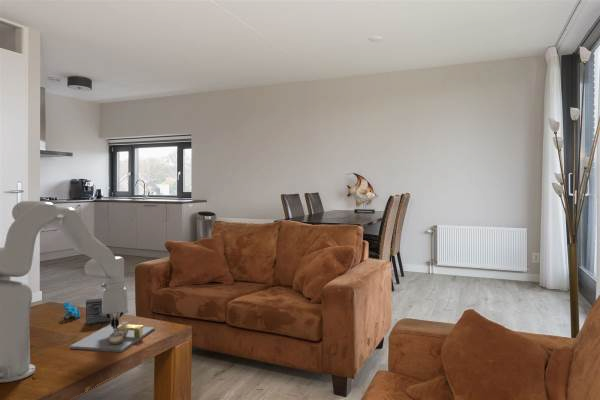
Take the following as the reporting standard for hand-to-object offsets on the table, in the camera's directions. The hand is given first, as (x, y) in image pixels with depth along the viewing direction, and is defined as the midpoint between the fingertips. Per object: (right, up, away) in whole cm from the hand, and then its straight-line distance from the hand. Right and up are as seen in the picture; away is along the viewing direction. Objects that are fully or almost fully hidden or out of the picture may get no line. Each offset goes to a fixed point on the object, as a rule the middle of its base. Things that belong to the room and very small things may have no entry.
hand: (114, 327), depth 183 cm
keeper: (+9, -2, -5) cm, 10 cm away
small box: (-15, -2, +17) cm, 23 cm away
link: (+4, -2, -5) cm, 7 cm away
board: (+2, -3, -5) cm, 6 cm away
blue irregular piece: (-31, -2, +23) cm, 39 cm away
